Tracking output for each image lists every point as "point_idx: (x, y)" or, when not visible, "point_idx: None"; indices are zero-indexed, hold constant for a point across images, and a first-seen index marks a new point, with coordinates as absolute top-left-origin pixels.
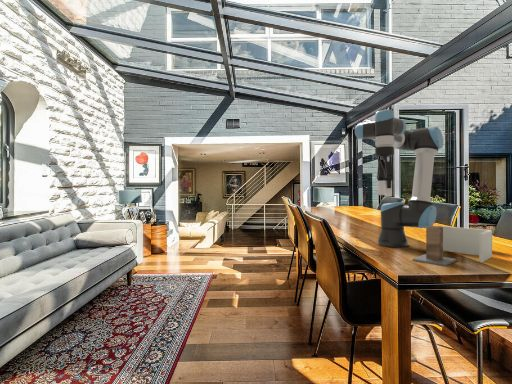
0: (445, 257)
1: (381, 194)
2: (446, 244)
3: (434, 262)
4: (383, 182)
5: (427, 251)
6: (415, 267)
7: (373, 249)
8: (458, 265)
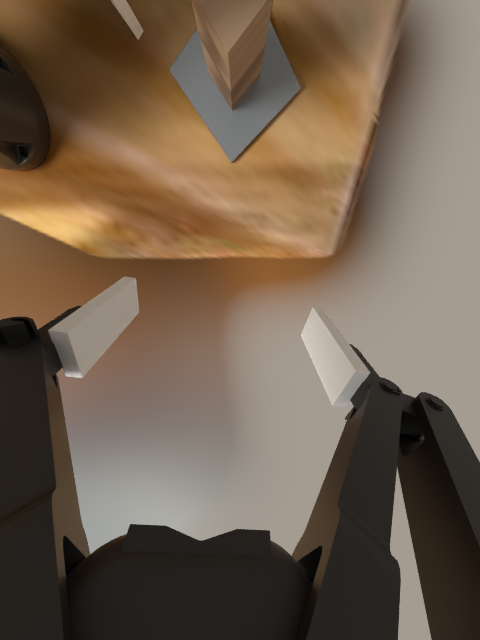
0: None
1: (136, 297)
2: None
3: (277, 112)
4: (83, 330)
5: (234, 98)
6: (294, 192)
7: (103, 217)
8: (300, 22)
